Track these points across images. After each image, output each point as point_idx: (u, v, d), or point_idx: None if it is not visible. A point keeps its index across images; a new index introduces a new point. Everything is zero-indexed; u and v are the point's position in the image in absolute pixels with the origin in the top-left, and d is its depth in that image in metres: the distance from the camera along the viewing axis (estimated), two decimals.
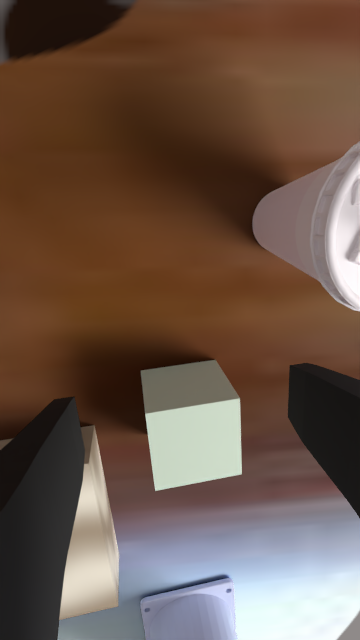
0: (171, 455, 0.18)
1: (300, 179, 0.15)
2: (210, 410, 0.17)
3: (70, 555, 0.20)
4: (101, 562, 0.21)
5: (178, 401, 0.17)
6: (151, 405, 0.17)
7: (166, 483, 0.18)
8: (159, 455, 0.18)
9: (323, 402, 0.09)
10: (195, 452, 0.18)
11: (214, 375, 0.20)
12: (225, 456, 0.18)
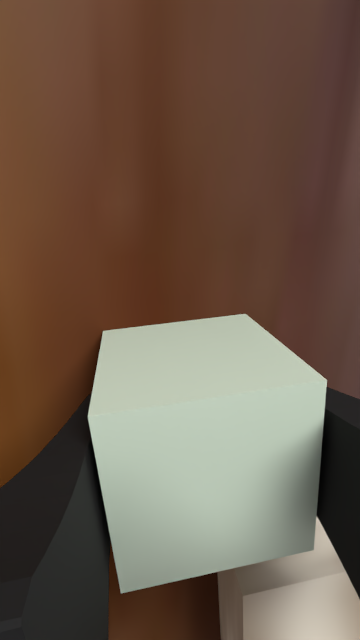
0: (233, 535, 0.08)
1: None
2: (122, 479, 0.07)
3: None
4: None
5: None
6: None
7: (300, 534, 0.08)
8: (227, 556, 0.08)
9: None
10: (235, 492, 0.08)
11: None
12: (262, 427, 0.07)
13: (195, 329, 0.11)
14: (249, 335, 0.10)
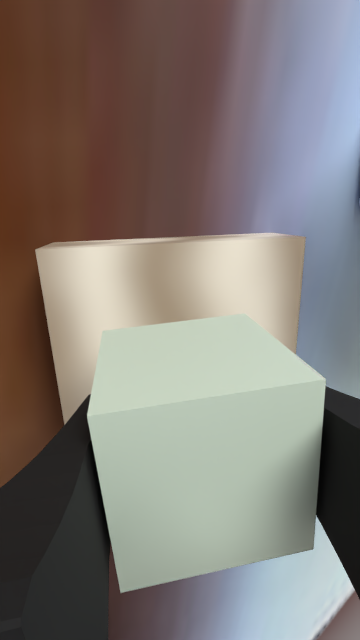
0: (232, 534, 0.08)
1: None
2: (121, 479, 0.07)
3: (191, 291, 0.15)
4: (215, 251, 0.15)
5: None
6: None
7: (300, 533, 0.08)
8: (226, 555, 0.08)
9: None
10: (234, 491, 0.08)
11: None
12: (261, 426, 0.07)
13: (194, 329, 0.11)
14: (248, 334, 0.10)
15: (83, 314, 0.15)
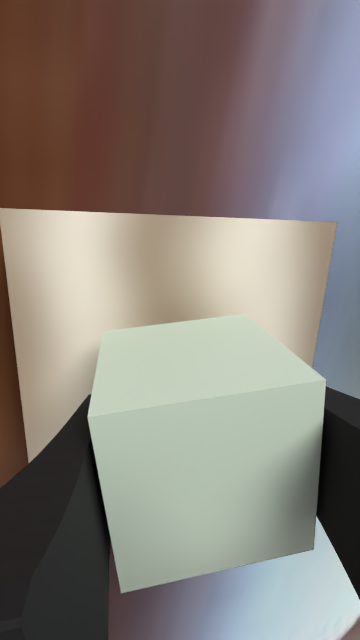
0: (233, 535, 0.08)
1: None
2: (121, 479, 0.07)
3: (194, 278, 0.12)
4: (227, 231, 0.12)
5: None
6: None
7: (300, 534, 0.08)
8: (227, 555, 0.08)
9: None
10: (235, 491, 0.08)
11: None
12: (261, 427, 0.07)
13: (195, 329, 0.11)
14: (248, 335, 0.10)
15: (56, 297, 0.12)
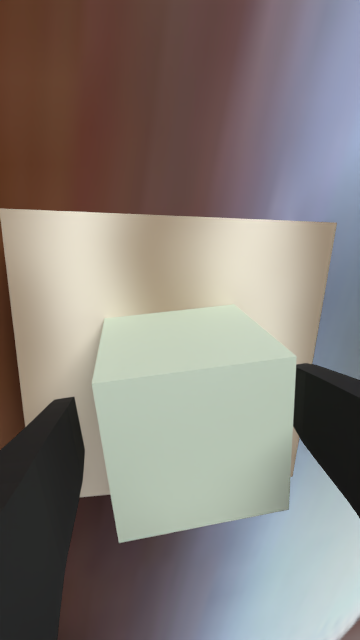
0: (217, 494, 0.09)
1: None
2: (120, 439, 0.08)
3: (194, 278, 0.12)
4: (227, 231, 0.12)
5: None
6: None
7: (276, 494, 0.09)
8: (211, 512, 0.09)
9: (323, 402, 0.09)
10: (218, 454, 0.09)
11: None
12: (240, 396, 0.08)
13: (187, 317, 0.12)
14: (235, 321, 0.11)
15: (57, 297, 0.12)
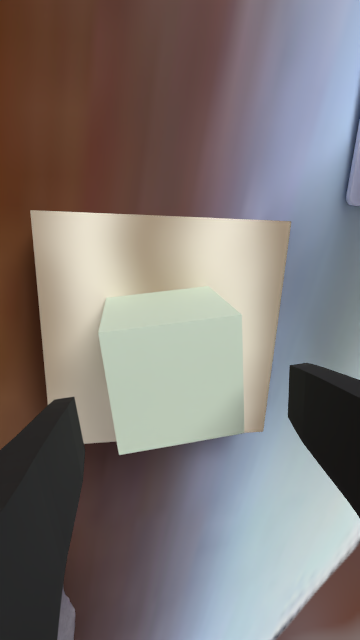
0: (189, 418, 0.13)
1: None
2: (118, 374, 0.12)
3: (178, 264, 0.16)
4: (204, 228, 0.15)
5: None
6: None
7: (234, 420, 0.13)
8: (186, 433, 0.13)
9: (323, 402, 0.09)
10: (189, 387, 0.12)
11: None
12: (203, 344, 0.12)
13: (170, 295, 0.15)
14: (205, 296, 0.14)
15: (72, 278, 0.15)
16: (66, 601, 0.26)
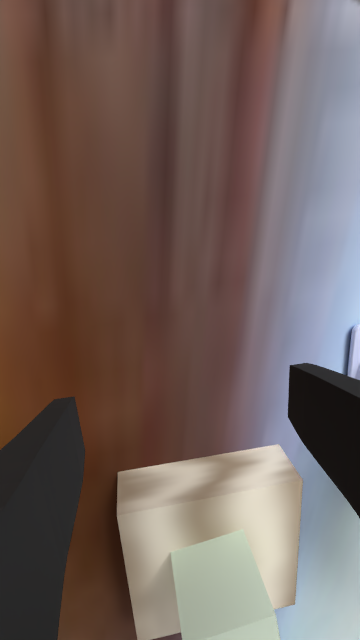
0: None
1: None
2: None
3: (222, 521, 0.21)
4: (239, 497, 0.21)
5: None
6: None
7: None
8: None
9: (323, 402, 0.09)
10: None
11: None
12: (251, 634, 0.17)
13: (217, 552, 0.21)
14: (244, 561, 0.20)
15: (147, 545, 0.21)
16: None
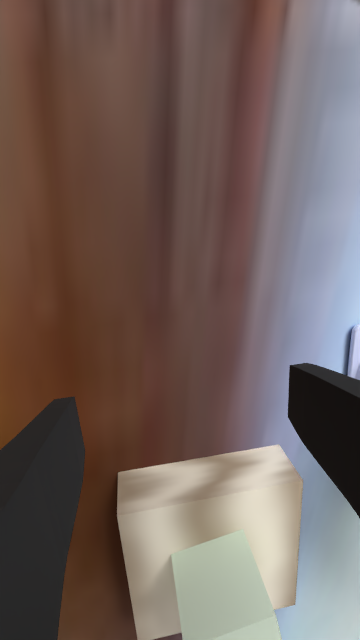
0: None
1: None
2: None
3: (222, 522, 0.21)
4: (239, 498, 0.21)
5: None
6: None
7: None
8: None
9: (323, 402, 0.09)
10: None
11: None
12: (252, 635, 0.17)
13: (218, 553, 0.21)
14: (244, 562, 0.20)
15: (147, 546, 0.21)
16: None
